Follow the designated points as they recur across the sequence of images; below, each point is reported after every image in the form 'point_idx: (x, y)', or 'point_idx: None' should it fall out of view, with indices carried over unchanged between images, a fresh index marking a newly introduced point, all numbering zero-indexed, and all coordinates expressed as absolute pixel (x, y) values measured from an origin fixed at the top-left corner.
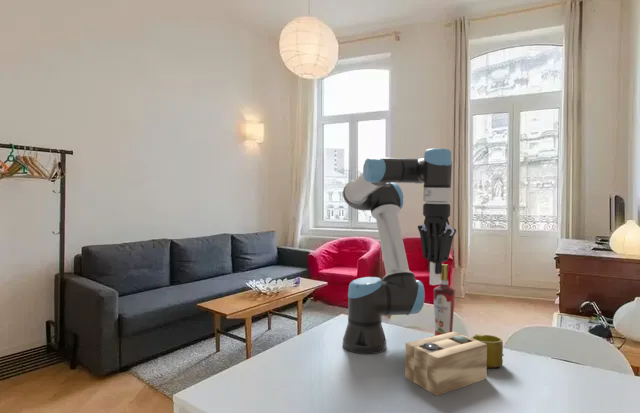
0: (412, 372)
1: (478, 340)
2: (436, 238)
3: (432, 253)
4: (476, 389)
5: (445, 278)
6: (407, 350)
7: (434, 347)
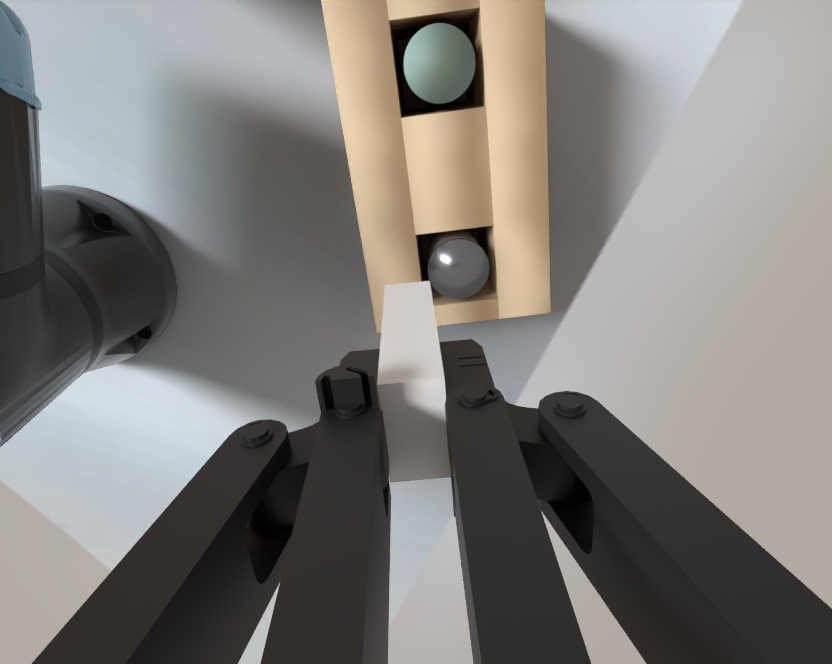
0: None
1: None
2: None
3: (385, 532)
4: (552, 111)
5: None
6: None
7: (480, 270)
